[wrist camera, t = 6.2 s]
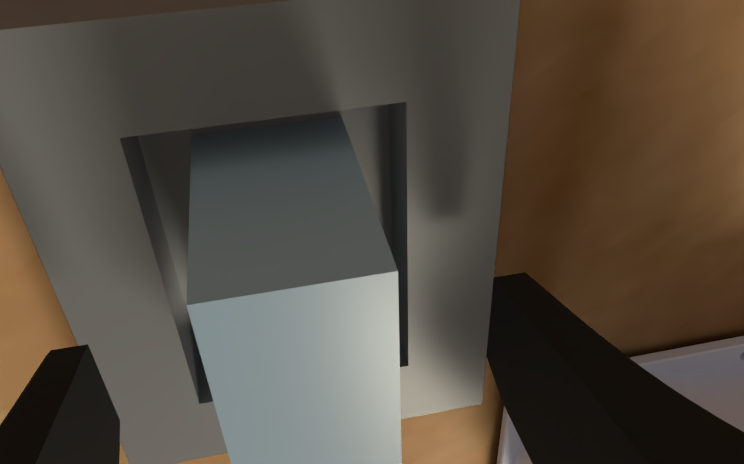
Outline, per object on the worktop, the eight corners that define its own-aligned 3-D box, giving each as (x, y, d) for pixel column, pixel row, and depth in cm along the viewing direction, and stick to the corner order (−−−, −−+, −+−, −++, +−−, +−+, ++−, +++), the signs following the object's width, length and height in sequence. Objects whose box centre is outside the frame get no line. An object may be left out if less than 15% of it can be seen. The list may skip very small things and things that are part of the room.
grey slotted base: (482, -53, 13) (523, -24, 11) (459, 348, 19) (482, 403, 18) (-21, -6, 11) (-57, 35, 10) (138, 407, 18) (133, 471, 16)
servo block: (341, 116, 14) (398, 270, 10) (354, 297, 17) (401, 472, 13) (191, 135, 13) (186, 305, 9) (232, 318, 16) (242, 505, 12)
